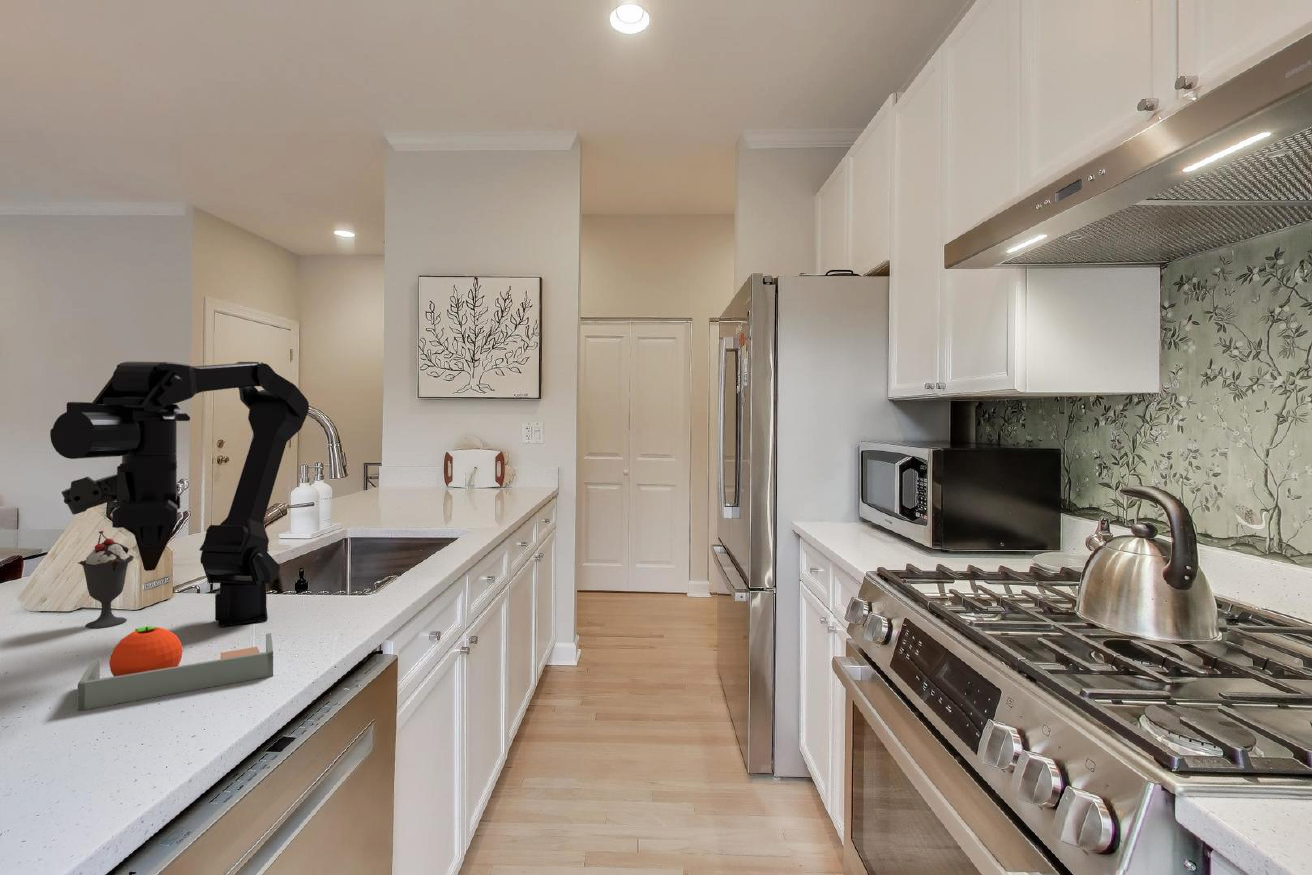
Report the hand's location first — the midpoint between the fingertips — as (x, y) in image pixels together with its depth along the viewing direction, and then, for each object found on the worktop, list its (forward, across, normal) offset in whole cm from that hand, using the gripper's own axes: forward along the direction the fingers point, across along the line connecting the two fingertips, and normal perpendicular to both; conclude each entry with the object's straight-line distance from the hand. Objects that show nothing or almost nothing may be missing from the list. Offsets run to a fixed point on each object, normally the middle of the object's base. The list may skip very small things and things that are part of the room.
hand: (150, 570), depth 84 cm
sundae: (+12, -21, -6) cm, 25 cm away
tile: (+12, +12, +10) cm, 20 cm away
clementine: (+12, +10, 0) cm, 16 cm away
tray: (+12, +11, +4) cm, 17 cm away
